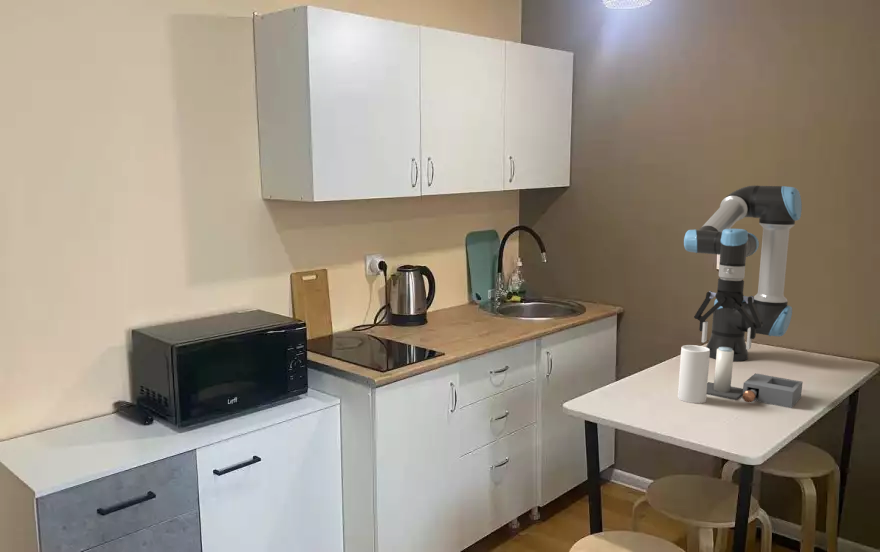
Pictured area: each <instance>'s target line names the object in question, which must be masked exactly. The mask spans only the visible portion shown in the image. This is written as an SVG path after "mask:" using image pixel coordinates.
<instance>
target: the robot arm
mask: <svg viewBox="0 0 880 552" xmlns="http://www.w3.org/2000/svg"><path fill="white" fill-rule="evenodd" d="M801 217H802V198H801V194H800V191H799V189H798V188H796V187H794V186H785V185H747V186H744V187H741V188H739V189H736V190H734V191H732V192H731V193H729V194H727V196H725V197H724V198H723V199H722V201H721V202H720V204H719V208H718V209H717V210H716V211H715V212H713V214H712V215H711V216H710V217H709V219H708V220H706V222H704V224H703V225H702V226H701V227H700V228H699V229H695V228H694V229H688V230H687V231H686V232H685V235H684V237H683V247H684V249H685V251H686V252H689V253H695V254H707V255H718V256H719V264H718V277H719V278H718V279H717V290H716V292H713V291H712V290H709V291H706V294H705V299H704V300H703V302H702V303H701V305H700V307H698V310H697V311H696V312H695V314H694V317H693V318H694V319H695V320H697V321H699V329H698V330H699V332H701V333H702V334H701V343H705V342H707V340H708V342H707V344H706V346H705V347H706V348H709V349H710V356H709V358H712V359H715V360H716V354H717V349H718V348H719V347H729V348H732V350H734V356H733V362H742V361H746V360H748V357H749V351H748V350H751V349H752V343H753V342H752V340H754V339H755V338H756V335H766V336H768V337H782V336H784V335H785V334H786V333H787V331H788V329H789V326H790V323H791V321H792V317H793V316H792V315H793V307H792V306H791V305H788V299H787V297H785V295H784V293H785V283H786V274H787V273H786V271H787V259H788V248H789V239H790V230H791V229H792V228H793V227H795V225H796V224H795V223H796V221H799V220H800V219H801ZM744 218H753V219H754V218H756V219H759V221H758V224H759V225H760V226H761V227H762V237H761V238H762V239H761V240H762V241H761V252H760V263H759V264H760V265H759V274H758V288H757V293H756V294H755V295H750V296H746V295H744V289H745V288H744V286H745V281H744V279H745V275H746V273H745V272H746V264H747V263H746V260H747V257H750V256H752V255H753V254H755V253H756V252H757V251H758V248H759V247H760V246H759V245H760V243H759V239H758V237H757V236H756V235H755V234H753V233H752V232H748V230H746V229H744V228H732V227H734V225H735V224H736V223H737V222H738V221H741V220H742V219H744ZM714 298H715V299H714ZM712 299H714V301H713V303H714V304H713V306H712V307H711V308H710V309H709V310H707V312H706V313H705V314H703V313H704V311H705V310H706V308H707V307H708V305H709V303H710V302H711V300H712ZM711 315H712V325H711V333H710V337H709V339H708V327H709V326H708V325H709V321H708V320H707V319H708V318H709V317H710V316H711ZM745 334H747V338H746V340H745Z"/></svg>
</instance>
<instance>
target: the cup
mask: <svg viewBox="0 0 880 552" xmlns="http://www.w3.org/2000/svg"><path fill="white" fill-rule="evenodd" d="M709 356H710V349H709V348H706V346H702V345H695V344H686V345H682V346H681V350H680V359H679V360H680V361H679V372H678V373H679V374H678V389H677V391H678V392H677V399H679V401H682V402H685V403H689V404H703V403H706V402H707V395H708V394H707V383H708V381H709V379H708V378H709V367H710V357H709Z"/></svg>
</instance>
